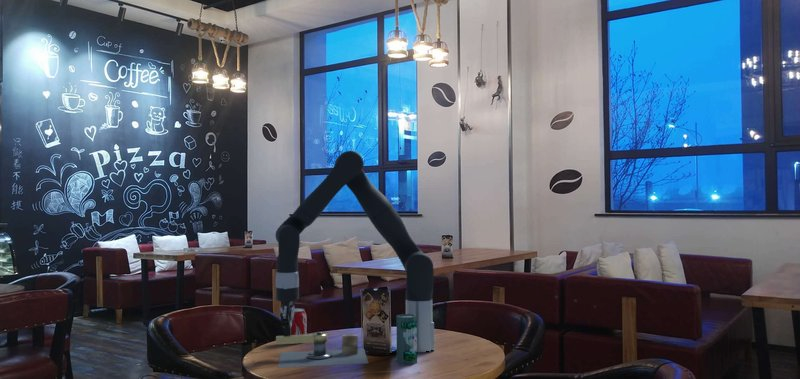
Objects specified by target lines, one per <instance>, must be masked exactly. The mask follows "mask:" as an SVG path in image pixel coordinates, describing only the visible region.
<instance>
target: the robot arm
mask: <svg viewBox="0 0 800 379" xmlns="http://www.w3.org/2000/svg"><path fill="white" fill-rule="evenodd" d="M364 165H365V164H364V159H363V157H362V155H361V154H360V153H359V152H357V151H354V150H346V151H344V152H342V153H340V154H339V156H338V157H337V158H336V159H335V161H334V165H333V167H332V169H331V170H330V172H329V173H328V175H327V176H326V177H325V178H324V180H322V181H321V182H320V184H318V186H316V187H315V189H313V191H312V192H311V193H310V194H309V195H307V197H306V198H305V199H304V200H303V201H302V202H301V203H300V205H298V207H297V208H296V209H295V210H294V212H293V213H292V214H291V215H290V216H289V217H288V218H287V219H285V220H284V221H283V222H282V223H281V224H280V225H279V227H278V228H277V229H276V231H275V239H276V241H277V243H278V250H277V251H278V254H277V256H276V275H275V300H276V302H277V301H278V302H282V303H281V306H280V308H279V310H280V311H279V312H280V314H279V315H280V322H281V327H282V328H283V336H286V335H291V326H292V322H293V313H294V309H295V304H293V302H297V301H298V300H299V299H300V292H299V291H300V277H299V252H300V240H301V237H300V235H301V234H302V232H304V231H305V229H306V228H308V227H309V226H311V225H312V224H313V223H314V222H315V221H316V220H317V218H318V217H319V216H320V215H321V214H322V213H323V212H324V210H325V209H326V207H328V206H329V204H330V202H332V200H333V198H334V197H336V196H337V194H338V193H339V192H340V191H341V190H342V189H343V188H344V187H345V186H347V188H348V189H349V190H350V191H351V192H352V194H353V195H354V196H355V198H356V200H357V201H358V203H359V205H360V207H361V208H362V210H363V211H364V213H365V215H366V216H367V218H368V219H369V220H370V221H369V222H370V223H371V224H372V226H374V228H375V229H376V231H378V233H379V234H380V236H381V237H382V238H383V239H384V240H385V241H386V242H387V243H388V245H389V246H390V247H391V248H392V249H393V251H394V252H395V254H396V255H397V257H398V259H399V261H400V263H401V264H402V266H403V268H404V270H405V272H406V289H405V314H414V315H416V316H417V353H427V352H426V351H429V352H432V351H431V350H434V351H435V322H434V321H433V319H434V318H433V294H434V276H435V275H434V273H435V272H434V262H433V261H432V258H431V257H430V256H428V255H427V254H425V253H424V252H423V251H422V249H420V247H418V245H417V244H416V243H415V241H414V240H413V239H412V237H411V236H410V234H409V232H408V230H407V228H406V225H405V224H404V223H405V222H403V221H404V220H402V218H401V216H400V215H399V213H398V212H397V210H396V209H395V207H394V206H393V204H392V203H391V202H390V200H389V198H387V197H386V196H385V195H384V194H383V193H382V192H381V191H380V190H379V189H377V188H376V186H375V185H374V184H373V183H372V181H371V180H370V179H369V177H368V176H367V175H366V172H365V171H364V170H363V168H364Z"/></svg>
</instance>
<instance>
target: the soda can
mask: <svg viewBox="0 0 800 379" xmlns="http://www.w3.org/2000/svg"><path fill="white" fill-rule="evenodd" d="M307 321H308V320H307V313H306V311H305V309H304V308H297V307H296V308H294V313H293V322H292V326H291V335H303V334H308V332H307V329H308V328H307V327H308V325H307V324H308V322H307ZM294 344H295V345H297V344H298V345H300V343H293V345H294Z"/></svg>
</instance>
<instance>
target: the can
mask: <svg viewBox="0 0 800 379" xmlns="http://www.w3.org/2000/svg"><path fill="white" fill-rule="evenodd" d="M395 320H396V330H395V331H396V363H397V365H402V366H412V365H417V363H418V352H417V316H416V315H414V314H406V313H401V314H397V315H396V316H395Z"/></svg>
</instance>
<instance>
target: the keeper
mask: <svg viewBox="0 0 800 379" xmlns="http://www.w3.org/2000/svg"><path fill="white" fill-rule="evenodd" d="M358 337H359V336H358V334H357V333H355V334H354V333H353V334H342V336H341V341H342V342H341V345H342V346H341V350H342V354H343V355H344V354H358V349H359V346H358V345H359V344H358V342H359V340H358Z"/></svg>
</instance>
